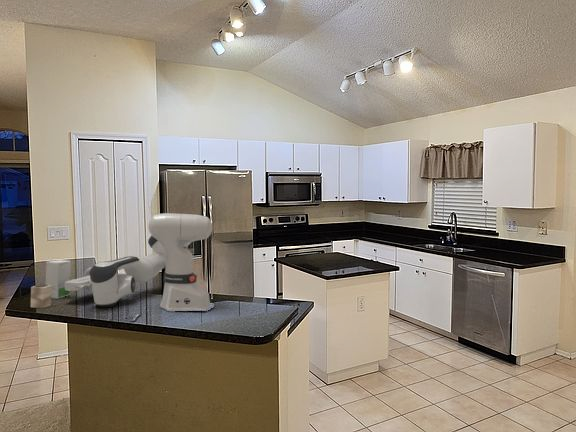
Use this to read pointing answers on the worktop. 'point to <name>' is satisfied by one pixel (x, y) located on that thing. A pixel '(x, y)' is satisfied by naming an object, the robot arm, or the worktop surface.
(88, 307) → the worktop surface
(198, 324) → the worktop surface
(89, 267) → the donut
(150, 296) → the worktop surface
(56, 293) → the skincare box
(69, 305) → the worktop surface
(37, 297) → the birch marked block
